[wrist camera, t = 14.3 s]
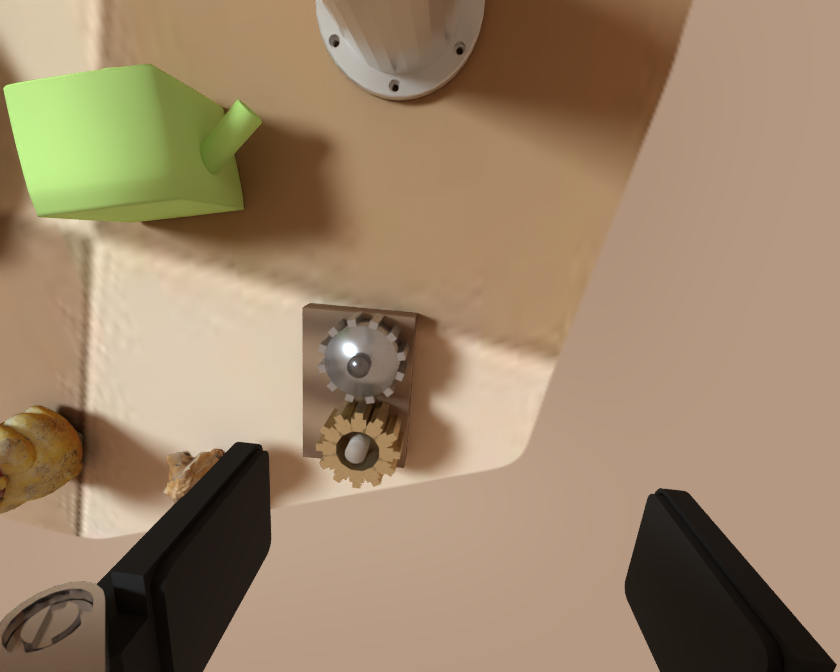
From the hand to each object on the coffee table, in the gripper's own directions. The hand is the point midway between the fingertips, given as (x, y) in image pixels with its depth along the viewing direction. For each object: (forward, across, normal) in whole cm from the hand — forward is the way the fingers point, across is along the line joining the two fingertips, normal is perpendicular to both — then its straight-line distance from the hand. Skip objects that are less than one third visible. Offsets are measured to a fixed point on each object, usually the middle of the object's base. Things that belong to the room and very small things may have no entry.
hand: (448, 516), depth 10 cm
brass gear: (+26, +7, +13) cm, 30 cm away
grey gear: (+26, +7, +5) cm, 28 cm away
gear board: (+28, +8, +9) cm, 31 cm away
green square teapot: (+29, +24, -11) cm, 39 cm away
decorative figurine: (+28, +40, +19) cm, 53 cm away
